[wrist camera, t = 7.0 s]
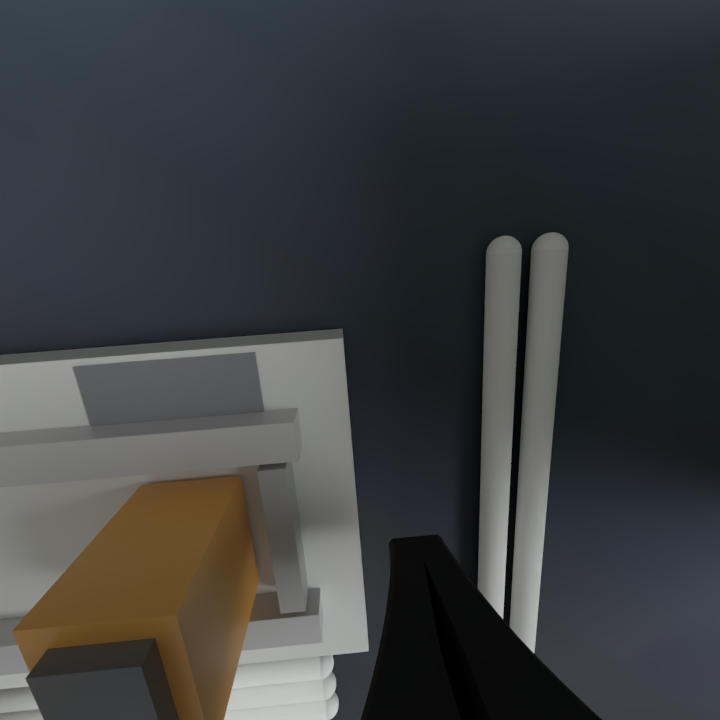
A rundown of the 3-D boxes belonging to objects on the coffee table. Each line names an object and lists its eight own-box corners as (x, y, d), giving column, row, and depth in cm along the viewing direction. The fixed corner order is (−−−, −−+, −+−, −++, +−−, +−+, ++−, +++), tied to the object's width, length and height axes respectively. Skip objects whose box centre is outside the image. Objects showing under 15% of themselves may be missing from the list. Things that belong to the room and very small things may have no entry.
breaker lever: (259, 579, 12) (206, 789, 7) (169, 588, 12) (55, 805, 7) (240, 475, 11) (163, 642, 6) (141, 484, 11) (-14, 660, 6)
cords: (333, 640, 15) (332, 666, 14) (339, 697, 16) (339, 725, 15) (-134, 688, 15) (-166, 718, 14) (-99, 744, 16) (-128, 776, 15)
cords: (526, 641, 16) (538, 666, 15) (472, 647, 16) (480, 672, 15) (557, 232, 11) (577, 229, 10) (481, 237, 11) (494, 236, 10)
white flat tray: (366, 613, 15) (371, 681, 13) (-187, 668, 14) (-293, 751, 12) (342, 328, 12) (342, 346, 9) (-375, 383, 11) (-573, 418, 9)
